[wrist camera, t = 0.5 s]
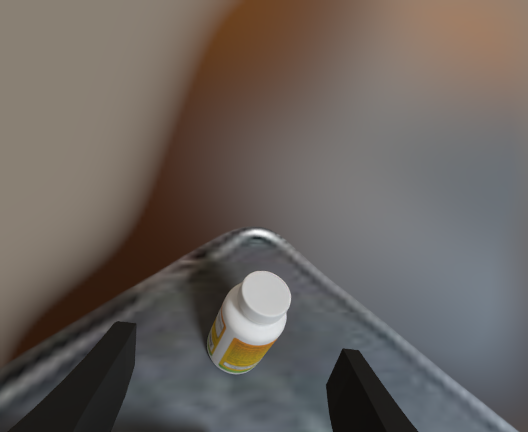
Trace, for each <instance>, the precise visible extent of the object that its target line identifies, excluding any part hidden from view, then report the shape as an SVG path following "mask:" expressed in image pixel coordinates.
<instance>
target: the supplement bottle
mask: <svg viewBox="0 0 528 432" xmlns="http://www.w3.org/2000/svg"><path fill="white" fill-rule="evenodd" d="M290 302H291V294H290V291H289V288H288V287H287V285H286V283H285V282H284V281H283V280H282V279H281V278H280V277H278V276H277V275H275V274H273V273H270V272H267V271H256V272H253V273H251V274H249V275H248V276H247V277H246V278H245V279H244V281H243V282H242V283H240V284H238V285H236V286H235V287H234V288H232V289H231V290H230V291H229V293H228V294H227V296H226V298H225V300H224V302H223V304H222V306H221V308H220V310H219V313H218V315H217V317H216V319H215V321H214V323H213V326H212V328H211V330H210V332H209V335H208V339H207V350H208V354H209V356H210V358H211V360H212V361H213V363H214V364H215V365H216V366H217V367H218V368H219V369H221V370H223V371H225V372H227V373H231V374H242V373H245V372H248V371H250V370H251V369H252V368H254V367H255V366H256V365H257V364H258V362H259V361H260V360H261V359H262V357H263V356H264V355H265V353H266V352H267V351H268V350H269V348H270V347H271V346H272V344H273V343H274V342H275V341H276V339H277V338H278V337H279V336H280V334H281V332H282V331H283V329H284V326H285V323H286V311H287V310H288V308H289V306H290Z"/></svg>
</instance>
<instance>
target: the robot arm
mask: <svg viewBox="0 0 528 432" xmlns="http://www.w3.org/2000/svg"><path fill="white" fill-rule="evenodd" d="M135 345H136V323H128V322H119V321H117V322H115V323H114V324H113V325H112V326H111V328H110V329H109V330H108V331H107V333H106V334H105V335H104V336H103V337H102V339H101V340H100V341H99V342H98V343H97V344H96V346H95V347H94V348H93V349H92V350H91V351H90V352H89V353H88V354H87V356H86V357H85V358H84V359H83V360H82V361H81V362H80V363H79V364H78V365H77V366H76V367H75V368H74V369H73V370H72V371H71V373H70V374H69V375H68V376H67V377H66V378H65V379H64V380H63V381H62V382H61V383H60V384H59V385H58V386H57V387H56V388H55V389H54V390H53V391H52V392H50V393H49V394H48V395H47V396H46V397H45V398H44V399H43V400H42V401H41V402H40V403H39V404H38V405H37V406H36V407H35V408H34V409H33V410H32V411H30V412H29V413H28V414H27V415H26V416H25V417H24V418H23V419H22V420H20V421H19V422H18V423H17V424H16V425H15V426H14V427H12V428H11V429H10V430H9V431H8V432H111V429H112V427H113V424H114V422H115V420H116V417H117V415H118V412H119V410H120V408H121V405H122V403H123V400H124V398H125V395H126V392H127V388H128V385H129V382H130V379H131V375H132V372H133V369H134V365H135ZM326 389H327V399H328V407H329V415H330V420H331V425H332V429H333V432H418V431H417V429H416V428H415V427H414V426H413V425H412V423H411V422H410V421H409V419H408V418H407V417H406V415H405V414H404V413H403V412H402V410H401V409H400V408H399V406H398V405H397V403H396V402H395V401H394V399H393V398H392V397H391V395H390V394H389V393H388V391H387V390H386V388H385V387H384V386H383V384H382V383H381V381H380V380H379V378H378V377H377V376H376V374H375V373H374V371H373V370H372V368H371V367H370V366H369V364H368V363H367V361H366V360H365V358H364V357H363V356H362V354H361V353H360V351H359V350H352V349H342V351H341V353H340V356H339V358H338V360H337V362H336V364H335V367H334V369H333V371H332V373H331V375H330V378H329V380H328V382H327V384H326Z"/></svg>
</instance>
